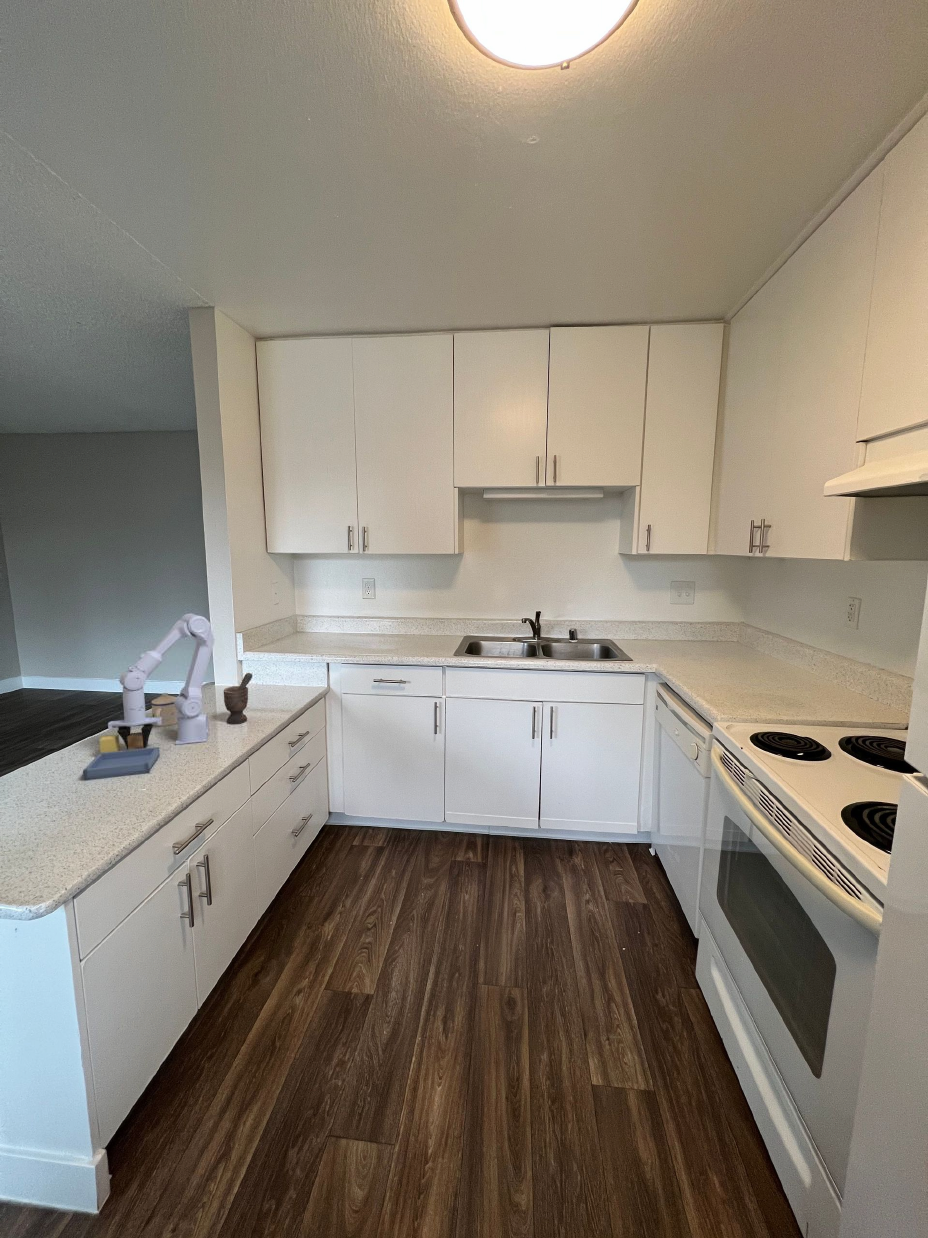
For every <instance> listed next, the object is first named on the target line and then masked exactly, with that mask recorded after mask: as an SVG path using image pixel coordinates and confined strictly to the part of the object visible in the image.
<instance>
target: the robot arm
mask: <svg viewBox="0 0 928 1238" xmlns="http://www.w3.org/2000/svg"><path fill="white" fill-rule="evenodd" d="M213 633H214V632H213V630H212V624H211V623H210V622H209V621H208V619H207V618H206V617H204V616H202V615H197V614H195V613H186V614H184V615H183V616H182V617H181V618H180V619H179V620H177V621H176V622H175V623H174V625H173V626H172V627H171V628H170V630H169V631H168V632H167V633H166V634H165V636H164V637H163V638H162V639H161V640H160V641H159V643H158V644H157V645H156V646H155V647H154V648H153V650H147V651H145V652H144V653H143V652H142V653H140V655H139V656H138V657H139V658H138V659H137V661H136V662H134V663H133V665H130V666H129V667H128V668H127V669H128V670H125V671H124V672H122V673H121V675H120V678H119V683H120V685H121V686H122V704H123V715H124V719H120V720H112V721H108V723H107V726H108V728H107V729H108V730H113V729H117V731H116V732H117V734H119V737H120V738H121V739H122V740H123V743H124V744H125V747H126V750H128V739H127V737H128V736H129V735H130V734H131V733H132V732H131V731H132V729H131V728H132V727H140V726H141V729H140V730H141V732H142V735H143V747H144V748H146V747H147V748H148V746H149V739H150V735H151V732H152V730H153V728H154V726H155V724H157V725H161V724H162V717H158V718H154V717H153V716H152V717H150V716H149V717H146V716H147V715H146V702H145V701H146V700H145V692H144V686H145V685H146V683H147V678H149V677H150V675H151V674H152V673H153V672H155V670H156V669H157V668H158V667H159V666H160V665H162V663H163V656H164V655H165V654H166V653H167V652H168V651H169V650H170V649H171V648H172V647H173V646H174V645H176V643H177V642H178V641H180V639H183V638H187V637H188V638H189V637H192V638H193V639H194V641H196V646H195V649H194V651H193V655H192V659H191V663H190V665H189V669H188V673H187V676H186V680H185V683H184V686H183V687H182V688H181V690H180V691H179V694H178V696H176V697H177V698H176V699H175V702H174V705H175V708H176V709H177V710H178V714H177V723H176V726H177V739H176V741H175V743H174V745H182V744H183V745H184V744H194V743H202V742H203V743H204V742H206V741H207V740H208V738H209V736H210V726H209V714H208V713H201V712H202V710H203V703H202V700H203V699H202V698H203V692H202V687H203V683H204V679H205V676H206V673H207V670H208V666H209V662H210V659H211V654H212V652H213V648H214V645H215V637H214V634H213Z"/></svg>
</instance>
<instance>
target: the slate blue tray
mask: <svg viewBox="0 0 928 1238" xmlns="http://www.w3.org/2000/svg"><path fill="white" fill-rule="evenodd" d="M160 750H161V749H160V747H159V746H157V747H156V746H154V747H147V748H144V749H134V750H128V749H126V750H120V751H114V752H104V753H101V752H99V753H98V754H97V755H96V756H95V757H94V758H93V759H92V761H90V763H89V764H88V765H87V766H86V767H85V768H84V769H83V771H82V775H83V781H84V782H85V781H91V780H102V779H109V778H118V777H129V776H135V775H145V774H149V773H150V772H151V770H152V769H153V767H154V766H155V764H156V763H157V761H158V760H159V758H160V757H161V754H160Z"/></svg>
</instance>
